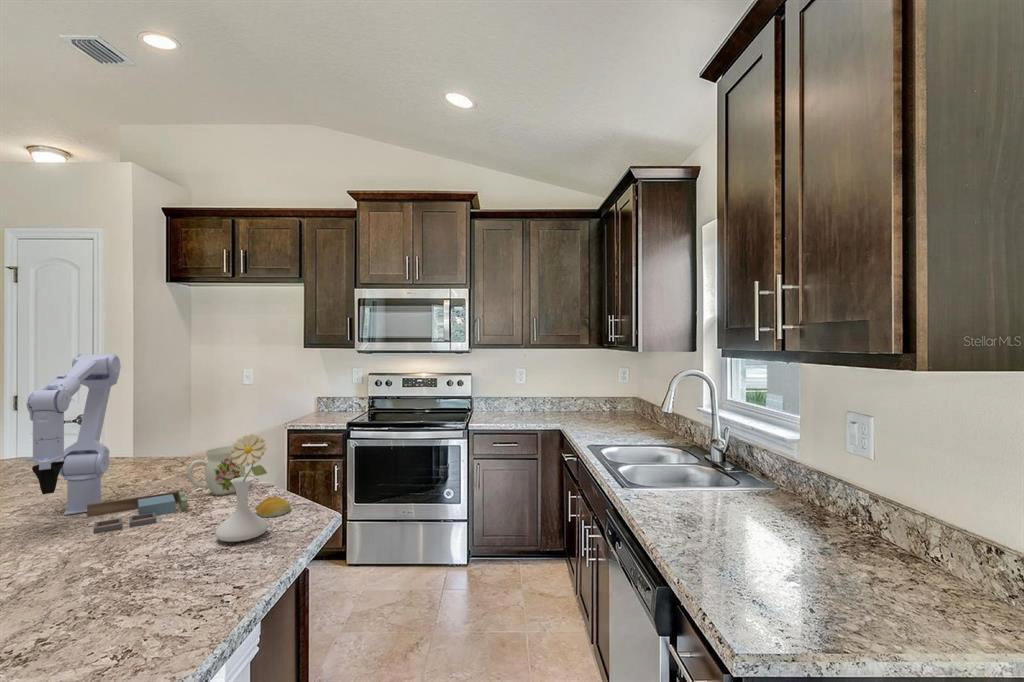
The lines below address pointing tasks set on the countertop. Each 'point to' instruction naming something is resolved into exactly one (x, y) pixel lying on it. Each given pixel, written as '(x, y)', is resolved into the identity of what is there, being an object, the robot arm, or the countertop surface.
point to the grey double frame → (117, 523)
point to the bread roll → (273, 507)
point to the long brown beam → (131, 504)
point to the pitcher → (218, 471)
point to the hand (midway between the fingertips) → (48, 493)
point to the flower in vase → (244, 492)
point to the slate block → (157, 505)
